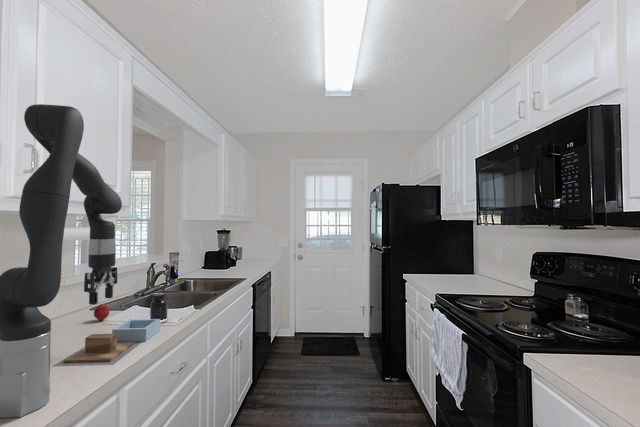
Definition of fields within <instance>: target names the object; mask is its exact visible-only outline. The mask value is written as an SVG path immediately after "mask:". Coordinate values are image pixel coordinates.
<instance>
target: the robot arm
mask: <svg viewBox="0 0 640 427" xmlns="http://www.w3.org/2000/svg"><path fill="white" fill-rule="evenodd" d="M23 118H24V120H23V121H24V123H25V127H26V128H27V130H28V132H29V133H30V134H31V135H32V136H33V138H34V139H35V140H36V141H37V142H38V143H39V144H40V145H41V146H42V147H43V148H44V150H46V151H47V152H48V153H49V155H48V157H47V158H46V160H45V161H44V162H43V163H42V164H41V165H40V166H39V167H38V168H37V169H36V170H35V171H34V172H33V173H32V174H31V175H30V176H29V178H28V179H27V181H26V182H25V183H24V184H23V185H24V186H23V188H22V192H21V196H20V203H19V210H18V211H19V218H20V221H21V224H22V227H23V229H24V232H25V234H26V236H27V239H28V243H29V256H28V264H27V267H25V266H22V267H12V268H10V269H8V270H5V271H4V272H3V273H1V275H0V418H1V419H2V418H22V417H23V416H25V415H27V414H30V413H32V412H35V411H37V410H39V409H41V408H43V407H44V406H45V405H47V404H48V403H49V401H50V394H51V393H50V392H51V390H50V389H51V388H50V387H51V348H52V347H51V344H52V343H51V342H52V340H51V338H52V321H51V319H50V318H49V317H48V316H46V315H45V314H43V313H42V312H41V311H40V310H39V308H40V307H41V308H42V307H45V306H47V305H49V304H51V302H53V301H54V299H55V298H56V297H57V295H58V293H59V290H60V287H61V282H62V259H63V258H62V256H63V242H64V235H65V226H66V219H67V214H68V211H69V203H70V198H71V188H72V181H73V182H74V183H75V185H76V186H77V188H78V190H79V191H80V192H81V193H82V194H83V195H84V196H85V198H84V200H83V209H84V211H85V214H86V217H87V218H86V219H87V222H88V225H89V243H88V262H87V263H88V264H87V265H88V267H89V269H92V271H91V272H85V273H84V280H83V281H84V284H83V292H84V293H88V298H89V299H88V302H89V303H88V304H89V305H97V304H99V301H98V300H99V299H98V298H99V296H98V295H99V293H98V291H99V289H100V287H102V286H103V284H104V286H105V287H104V290H105V292H104V298H105V299H112V298H114V287H115V285H117V284H118V267H116V251H117V250H116V247H117V246H116V224H115V223H114V222H113V221H110V220H109V221H108V220H105V219H103V217H102V215H115V214H117V213H119V212H120V211H121V209H122V207H123V203H122V200H121V197H120V195H119V194H118V193H117V192H116V191H115V190H114V189H113V188H112V187H111V186H110V185H108V184H107V183H106V182H105V181H104V179H103V177H102V175H101V173H100V172H99V170H98V169H97V167H96V166H95V165H94V164H93V163H92V162H91V161H90V160H88V158H86V157H84V156H83V155H82V154H80V153H79V150H80V148H81V147H80V146H81V143H82V140H83V137H84V131H85V129H84V128H85V125H84V124H85V123H84V118H83V115H82V113H81V112H80V110H78V108H76V107H73V106H69V105H58V104H43V103H42V104H41V103H40V104H39V103H38V104H31V105H29V106H28V107H27V108H26V110H25V111H24V116H23ZM114 266H115V267H114Z"/></svg>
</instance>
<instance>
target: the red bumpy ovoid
mask: <svg viewBox="0 0 640 427" xmlns="http://www.w3.org/2000/svg"><path fill="white" fill-rule="evenodd" d="M109 315H110V308H109V307H108V306H107V305H106V304H104V303H103V302H100V304H99V305H98V306H97V307H96V308H94V311H93V316H94V318H96V320H99V321H100V322H103V321H104V320H105V319H107V318H108V316H109Z"/></svg>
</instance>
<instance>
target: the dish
mask: <svg viewBox="0 0 640 427" xmlns="http://www.w3.org/2000/svg"><path fill="white" fill-rule="evenodd" d="M160 331H161V323H160V319H150V318H147V319H146V318H145V319H142V318H140V319H139V318H138V319H128V320H126V321H125V322H122V323H121V324H119V325H118V326H116V327H115V328H112V330H111V334H117V343H129V342H133V343H138V342H143V343H144V342H148V340H150V339H151V338H152V337H154V336H155V335H157V333H159V332H160Z"/></svg>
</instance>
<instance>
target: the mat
mask: <svg viewBox="0 0 640 427" xmlns="http://www.w3.org/2000/svg"><path fill="white" fill-rule="evenodd" d="M141 344H142V342H133V345H132V346H131V347H130V348H128V349H127V350H126V351H124V352H123V353H122V354H120V355H119V356H118V357H116V358H115V359H114V360H112V361H111V362H86V363H64V360H65V359H67V358H69V357H70V356H72V355H74V354H75V353H77V352H79V351H81V350H82V349H84V348H85V346H84V347H82V348H81V349H78V350H77V351H75V352H73V353H71V354H70V355H68V356H67V357H65V358H64V359H62V360H60V361H58V362H57V363H55V364H53V365H52V367H74V366H77V367H79V366H81V367H82V366H109V365H111V366H113V365H115V364H116V363H118V362H119V361H120V360H121V359H123V358H124V357H125V356H127V355H128V354H129V353H130V352H132V351H133V350H134V349H135V348H137V347H138V346H139V345H141Z"/></svg>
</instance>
